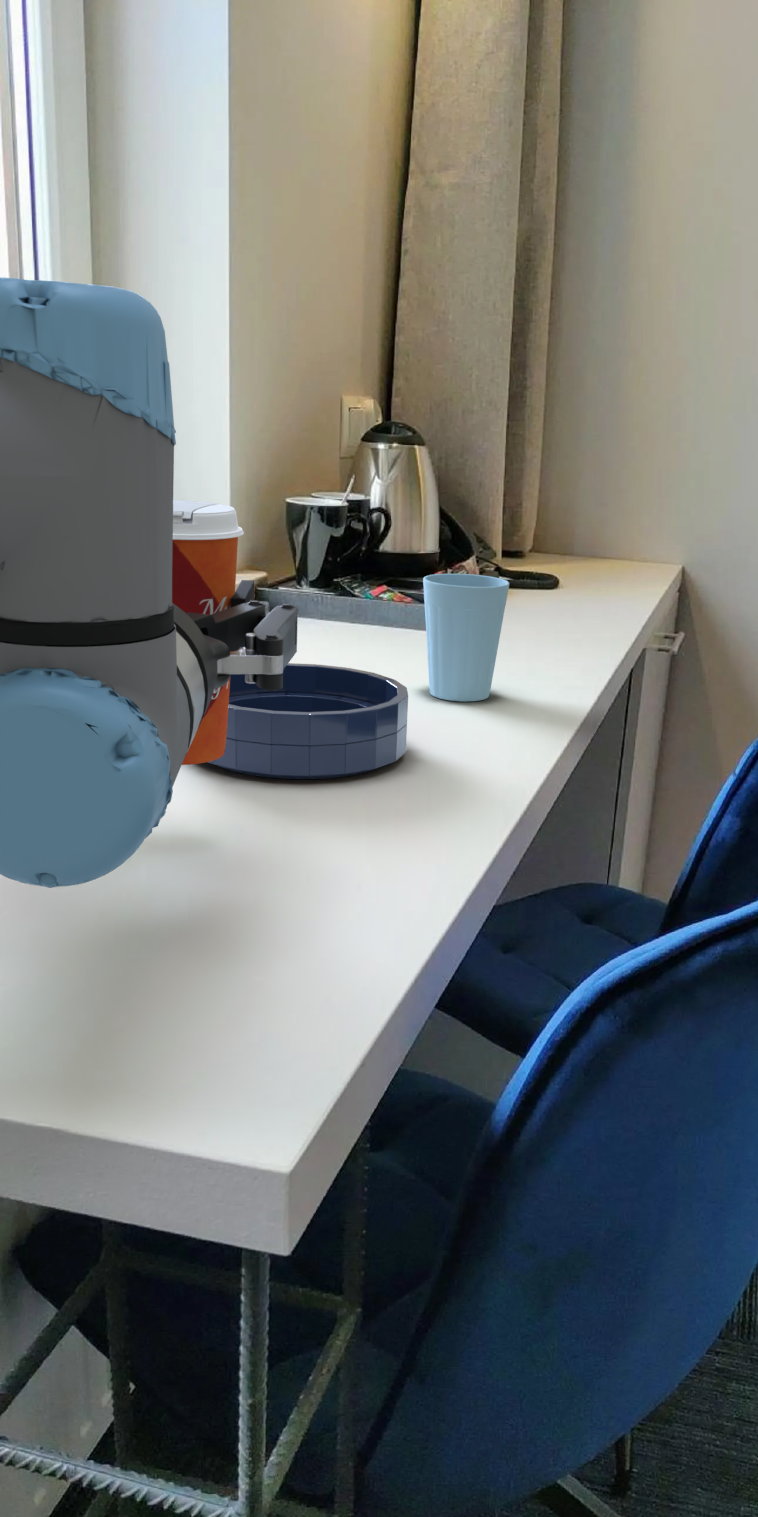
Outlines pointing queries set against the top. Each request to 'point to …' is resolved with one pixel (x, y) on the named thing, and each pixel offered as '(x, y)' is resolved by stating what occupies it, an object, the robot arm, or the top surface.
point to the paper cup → (205, 596)
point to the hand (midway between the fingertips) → (185, 599)
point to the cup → (463, 633)
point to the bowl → (315, 724)
